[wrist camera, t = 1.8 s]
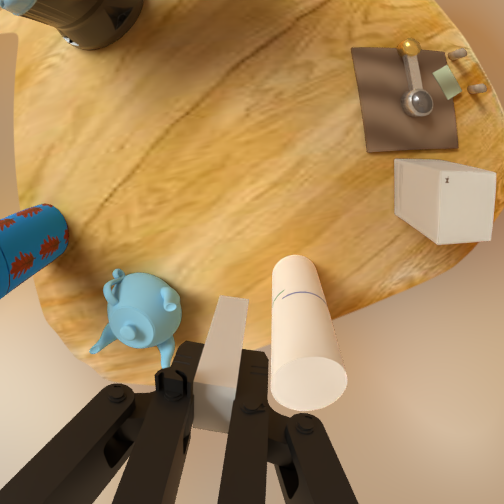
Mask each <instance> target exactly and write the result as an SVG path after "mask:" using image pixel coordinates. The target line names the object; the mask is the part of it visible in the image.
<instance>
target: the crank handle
mask: <svg viewBox="0 0 504 504" xmlns="http://www.w3.org/2000/svg"><path fill="white" fill-rule="evenodd" d="M420 51H421V46H420V44H419V42H418V41H417V40H415V39H413V38H408V39H406V40H405V41H403V42H402V43H400V44H399V45H398V46H397V52H398V54H399V55H400V56H401V57H402V58H403V61H404V66H405V71H406V76H407V82H408V88H409V91H407V92H405V93H404V94H403V95H402V97H401V101H400V103H401V107H402V109H403V111H404V112H405V113H406V114H407V115H409V116H411V117H418V116H426V115H428V114H430V113H431V111H432V109H433V100H432V97H431V96H430V94H429V93H428V92H427V91H425V90H423V87H422V81H421V76H420V70H419V65H418V60H417V54H419V53H420Z"/></svg>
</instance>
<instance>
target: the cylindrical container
mask: <svg viewBox="0 0 504 504" xmlns="http://www.w3.org/2000/svg"><path fill="white" fill-rule="evenodd" d="M346 386H347V374H346V370H345V367H344V363H343V360H342V356H341V352H340V348H339V345H338V341H337V338H336V334H335V330H334V327H333V324H332V320H331V316H330V313H329V310H328V306H327V303H326V300H325V296H324V293H323V290H322V286H321V283H320V280H319V277H318V273H317V270H316V267H315V265H314V264H313V263H312V261H311V260H309V259H308V258H306V257H304V256H301V255H290V256H287V257H284V258H283V259H281V260H280V261H279V262H278V263H277V264H276V265H275V267H274V269H273V273H272V348H271V392H272V395H273V397H274V398H275V399H276V400H277V401H278V402H279V403H280V404H281V405H283V406H285V407H287V408H290V409H293V410H298V411H311V410H316V409H321V408H324V407H326V406H328V405H330V404H331V403H333V402H335V401H336V400H337V399H338V398H339V397H340V396H341V395H342V394H343V393H344V391H345V389H346Z"/></svg>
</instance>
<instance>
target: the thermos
mask: <svg viewBox="0 0 504 504" xmlns="http://www.w3.org/2000/svg"><path fill="white" fill-rule="evenodd" d="M68 239H69V233H68V226H67V224H66V221H65V219H64V217H63V215H62V214H61V213H60V211H59V210H58V209H56V208H55V207H54V206H52V205H49V204H41V205H37V206H34V207H31V208H28V209H25V210H22V211H20V212H18V213H15V214H13V215H10V216H8V217H5V218H3V219H1V220H0V299H1V298H2V297H4V296H5V295H6V294H8V293H9V292H10V291H12V290H13V289H15V288H16V287H17V286H19V285H20V284H21V283H23V282H24V281H26V280H27V279H28V278H30V277H31V276H33V275H34V274H35V273H37V272H38V271H40V270H41V269H43V268H44V267H45V266H47V265H48V264H50V263H51V262H52V261H53V260H55V259H56V258H57V257H58V256H60V255H61V254H62V253H63V252H64V251H65V249H66V247H67V245H68Z"/></svg>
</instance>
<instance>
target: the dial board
mask: <svg viewBox="0 0 504 504" xmlns="http://www.w3.org/2000/svg"><path fill="white" fill-rule="evenodd" d="M351 54H352V59H353V64H354V69H355V74H356V80H357V86H358V91H359V98H360V104H361V111H362V118H363V125H364V132H365V140H366V149H367V152H380V151H396V150H416V149H447V148H458V138H457V128H456V119H455V110H454V103H453V97H454V96H455V95H457V94H458V93H460V92H462V90H461V88H460V86H459V84H458V82H457V81H456V79H455V77H454V75H453V74H452V72H451V70H450V69H449V67H448V65H447V62H446V57H445V53H444V52H440V51H430V50H421V51H420V53H419V54H417V60H418V65H419V70H420V76H421V81H422V87H423V90H425V91H427V92H428V93H429V94H430V96H431V97H432V100H433V109H432V111H431V113H430V114H428V115H426V116H418V117H411V116H409V115H407V114H406V113H405V112H404V111H403V109H402V107H401V103H400V101H401V97H402V95H403V94H404V93H405V92H407V91H409V88H408V82H407V76H406V71H405V66H404V61H403V58H402V57H401V56H400V55H399V54H398V52H397V48H370V47H360V48H351ZM465 56H467V51H466V50H465V49H464V48H461V49H458V50H455V51H453V52H450V53H449V54H448V57H449V59H450V60H452V61H453V60H456V59H459V58H462V57H465ZM467 90H468V92H469V93H470V94H475V93H483V92H486V91H487V88H486V86H485V84H477V85H472V86H468V88H467Z"/></svg>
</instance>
